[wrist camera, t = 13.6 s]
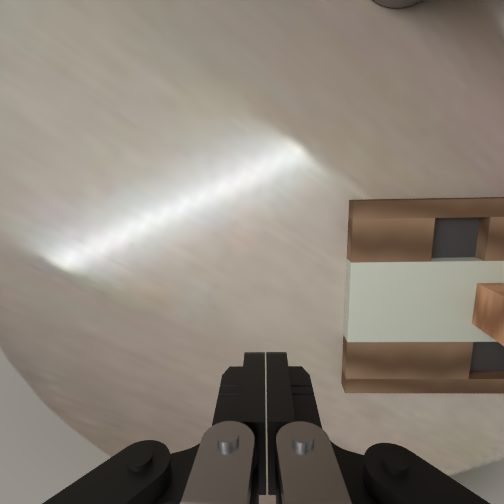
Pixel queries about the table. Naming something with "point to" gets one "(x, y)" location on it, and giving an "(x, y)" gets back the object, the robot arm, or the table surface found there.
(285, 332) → the table surface
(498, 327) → the block
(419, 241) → the lane board
